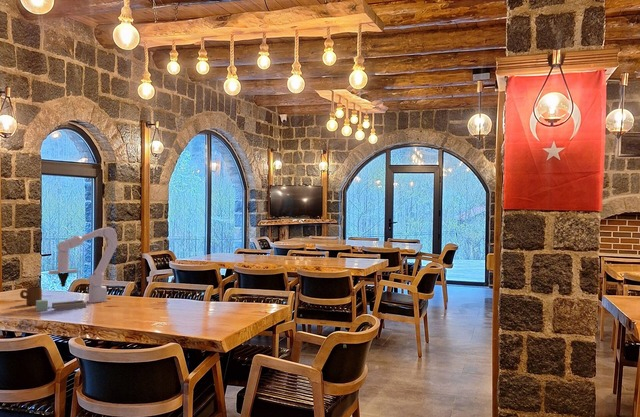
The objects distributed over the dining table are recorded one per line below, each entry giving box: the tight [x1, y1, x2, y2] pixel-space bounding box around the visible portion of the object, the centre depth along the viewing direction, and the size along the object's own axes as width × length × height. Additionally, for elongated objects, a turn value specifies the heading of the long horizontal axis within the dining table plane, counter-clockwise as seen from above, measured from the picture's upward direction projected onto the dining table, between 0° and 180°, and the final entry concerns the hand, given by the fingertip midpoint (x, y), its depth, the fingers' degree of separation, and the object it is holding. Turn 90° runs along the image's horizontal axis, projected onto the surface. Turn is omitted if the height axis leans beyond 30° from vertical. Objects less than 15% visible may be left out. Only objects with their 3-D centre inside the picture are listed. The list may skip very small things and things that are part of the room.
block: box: [35, 299, 49, 312], centre depth 286 cm, size 5×5×5 cm
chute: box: [51, 299, 87, 311], centre depth 294 cm, size 16×10×2 cm, turn 125°
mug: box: [19, 286, 43, 306], centre depth 299 cm, size 12×8×9 cm, turn 153°
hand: (63, 286), depth 305 cm, fingers closed
